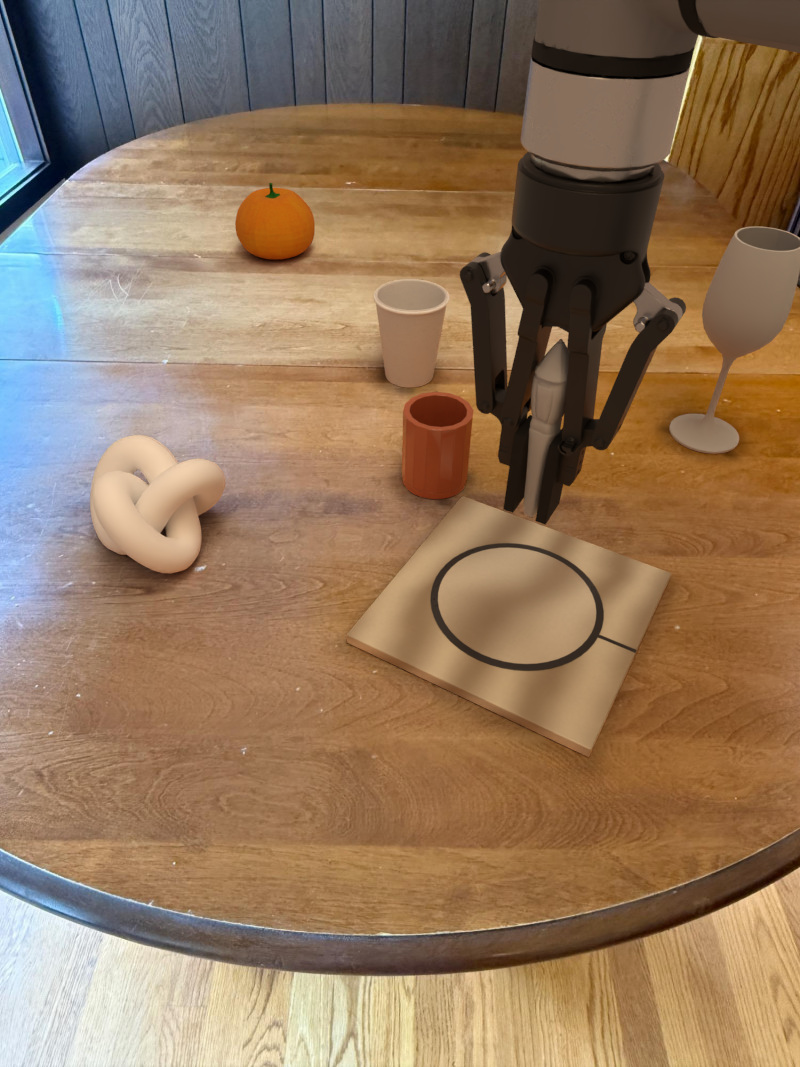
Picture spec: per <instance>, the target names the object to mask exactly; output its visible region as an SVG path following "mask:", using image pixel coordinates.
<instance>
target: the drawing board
mask: <svg viewBox="0 0 800 1067" xmlns="http://www.w3.org/2000/svg"><path fill="white" fill-rule="evenodd" d="M671 577H672V572H671V571H667V570H664V569H662V568H659V567H656V566H653V565H651V564H648V563H645V562H643V561H640V560H637V559H634V558H632V557H629V556H626V555H623V554H621V553H617V552H615V551H613V550H611V549H607V548H605V547H602V546H600V545H597V544H594V543H591V542H588V541H586V540H583V539H580V538H579V537H575V536H572V535H570V534H567V533H564V532H561V531H559V530H556V529H553V528H550V527H549V526H545V525H544V524H541V523H538V522H534V521H531V520H529V519H526V518H524V517H520V516H518V515H515V514H513V513H511V512H508V511H506V510H502V509H499V508H496V507H494V506H491V505H488V504H485V503H483V502H480V501H477V500H475V499H472V498H469V497H467V496H464V495H461V497H460V498H459V499H458V500H457V501H456V503H454V505H453V506H452V507H451V508H450V509H449V511H448V512H447V513H446V515H445V516H444V517H443V518H441V521H439V523H438V524H437V525H436V526H435V528H434V529H433V530H432V531H431V533H430V534H429V535H428V536H427V538H426V539H424V541H423V542H422V543H421V545H420V546H419V547H418V548H417V549H416V550H415V552H413V554H412V555H411V556H410V557H409V559H408V560H406V563H405V564H404V565H403V566H402V567H401V568H400V569H399V571H398V572H397V573H396V574H395V576H394V577H393V578H391V581H390V582H389V583H388V584H387V585H386V586H385V588H384V589H383V590H382V591H381V592H380V593H379V595H378V596H377V597H376V598H375V600H374V601H373V602H372V603H371V604H370V606H369V607H368V608H367V609H366V610H365V612H364V613H363V614H362V616H360V618H359V619H358V620H357V621H356V623H355V624H354V625H353V626H352V627H351V628H350V630H349V631H348V632H347V633H346V644H348V645H350V646H353V647H356V648H357V649H359V650H361V651H364V652H366V653H368V654H370V655H373V656H374V657H377V658H378V659H381V660H383V661H385V662H387V663H389V664H392V665H393V666H395V667H397V668H399V669H401V670H403V671H406V672H408V673H410V674H412V675H415V676H417V677H419V678H421V679H423V680H425V681H427V682H429V683H431V684H433V685H435V686H437V687H439V688H442V689H444V690H446V691H448V692H450V693H451V694H452V693H453V694H454V695H456V696H458V697H461V698H463V699H464V700H467V701H469V702H471V703H473V704H476V705H478V706H479V707H482V708H484V709H486V710H488V711H490V712H492V713H494V714H496V715H499V716H500V717H502V718H505V719H507V720H508V721H511V722H513V723H515V724H518V725H520V726H522V727H523V728H526V729H528V730H530V731H532V732H534V733H536V734H539V735H541V736H542V737H545V738H547V739H549V740H551V741H553V742H555V743H558V744H559V745H562V746H563V747H566V748H568V749H570V750H572V751H574V752H577V753H579V754H580V755H583V756H584V757H587V758H589V757H590V756H591V754H592V752H593V750H594V748H595V745H596V743H597V741H598V739H599V737H600V734H601V732H602V730H603V727H604V726H605V723H606V721H607V719H608V716H609V714H610V713H611V710H612V708H613V705H614V704H615V702H616V699H617V698H618V695H619V692H620V690H621V688H622V686H623V684H624V681H625V679H626V677H627V675H628V672H629V670H630V668H631V666H632V664H633V662H634V659H635V657H636V655H637V653H638V650H639V649H640V646H641V644H642V642H643V640H644V637H645V635H646V633H647V631H648V628H649V626H650V624H651V623H652V620H653V618H654V615H655V613H656V611H657V609H658V607H659V605H660V603H661V601H662V597H663V595H664V593H665V591H666V588H667V586H668V584H669V582H670V580H671Z"/></svg>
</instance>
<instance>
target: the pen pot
mask: <svg viewBox="0 0 800 1067" xmlns="http://www.w3.org/2000/svg"><path fill="white" fill-rule="evenodd" d="M473 421H474V408H473V407H472V405H471V403H470V402H469V401H467V400H466V399H465V398H463V397H461V396H459V395H457V394H453V393H450V392H443V391H430V392H423V393H419V394H417V395H414V396H412V397H411V398H409V400H407V401H406V402H405V403H404V405H403V410H402V436H401V437H402V440H401V442H402V443H401V444H402V445H401V449H402V450H401V480H402V484H403V486H404V487H405V489H407V491H409V492H410V493H411V494H413V495H415V496H417V497H420V498H423V499H426V500H427V499H428V500H445V499H449V498H452V497H454V496H457V495H459V494H460V493H461V492H462V491H463V490H464V489H465V487H466V485H467V484H468V483H467V482H468V472H469V463H470V462H469V461H470V453H471V443H472V442H471V440H472V431H473Z"/></svg>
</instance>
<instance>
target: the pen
mask: <svg viewBox="0 0 800 1067" xmlns="http://www.w3.org/2000/svg"><path fill="white" fill-rule="evenodd" d="M568 364H569V351H568V350H567V345H566V342H564V340H563V339H562V338H560V339H559V340H558V341H556V343H555V344H554V345H553V346H551V348H550V349H549V350H548V351H547V353H545V356H544V358H543V359H542V360H541V362H540V363H539V364H538V365H537V366H536V367H535V374H534V377H533V382H532V390H531V410H530V412H531V415H532V420H531V423H530V428H529V440H528V457H527V472H526V484H525V493H524V498H523V502H522V503H523V504H522V505H523V514H524V515H525V516H527V517H529V518H534V516H536V515H537V510H538V504H539V499H540V493H541V488H542V482H543V477H544V471H545V466H546V460H547V455H548V449H549V445H550V444H551V442H552V441H553V440H554V438H555V437H556V436H557V434H558V433H560V430H561V429H562V428H561V427H562V423H563V422H562V421H563V418H564V410H565V398H566V387H567V376H568Z"/></svg>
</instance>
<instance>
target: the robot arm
mask: <svg viewBox="0 0 800 1067" xmlns="http://www.w3.org/2000/svg"><path fill="white" fill-rule="evenodd" d="M699 36H700V37H706V38H710V39H719V38H720V39H725V40H729V41H736V42H740V43H746V44H751V45H755V46H761V47H766V48H770V49H771V48H772V49H777V50H782V51H786V52H793V53H797V54H800V0H538V4H537V17H536V26H535V34H533V35H532V38H533V40H532V46H531V53H530V54H531V55H530V59H529V68H528V74H527V83H526V92H525V93H526V94H525V101H524V107H523V114H522V115H523V117H522V122H521V133H520V144H521V146H522V147H523V149H524V150H525V151H526V153H525V154H524V155H523V156H522V157H521V158H520V159H519V161H517V162H518V163H517V169H516V177H515V187H514V195H513V203H512V205H513V206H512V212H511V230H510V234H509V236H508V237H507V240H506V241H505V242H504V243H503V245H502V247H501V250H500V251H498V252H495V253H493V254H490V253H489V252H484V251H483V252H481V253H479V254H478V255H477V256H476V257H474V258H473V259H472V260H471V261H469V262H468V263H467V264H465V265H464V266H463V267H461V270H460V271H459V278H460V281H461V284H462V286H463V289H464V292H465V295H466V297H467V299H468V302H469V305H470V320H471V321H470V322H471V323H470V324H471V338H472V354H473V371H474V390H475V391H474V392H475V406H476V409H477V410H478V412H480V413H481V414H484V415H489V414H491V415H492V416H494V417H495V418H496V419H497V420H499V423H500V425H501V426H500V427H501V429H500V436H499V437H500V438H499V443H498V444H499V445H498V451H497V458H498V461H499V464H502V465H505V466H508V474H507V480H506V488H505V493H504V494H505V495H504V502H503V507H502V508H503V511H505V512H508V513H511V514H513V513H514V512H515V511H516V510H517V508H518V507H519V505H520V504H521V502H522V501H524V493H525V484H526V472H527V457H528V440H529V428H530V423H531V420H532V414H529V412H531V390H532V382H533V377H534V374H535V367H536V366H537V365H538V364H539V363H540V362H541V360H542V359H543V358H544V356H545V355H546V352H547V348H548V344H549V340H550V336H551V334H552V329H553V328H559V329H561V330H563V331H565V332H567V334H568V335H567V345H566V346H567V350H568V351H569V364H568V376H567V387H566V398H565V410H564V415H563V420H562V421H563V422H562V428H561V430H560V433H558V434H557V436H556V437H555V438H554V440H553V441H552V442H551V444H550V445H549V449H548V455H547V460H546V466H545V471H544V477H543V482H542V488H541V493H540V499H539V504H538V510H537V513H536V514H535V522H536V523H538V524H541V525H544V526H545V525H546V524H547V523H548V522H549V520H550V519H551V517H552V515H553V514H554V512H555V511H556V510H557V508H558V506H559V505H560V503H561V498H562V497H561V496H562V493H563V488H564V485H565V486H567V487H571V486H572V484H573V483H574V482H575V480H576V479H577V478H578V476H579V475H580V473H581V472H582V468H583V467H582V466H583V463H584V459H585V455H586V450H587V447H592V448H594V449H595V450H598V451H605V450H607V449H608V448H609V447H610V445H611V444H612V442H613V440H614V439H615V438H616V436H617V434H618V432H619V431H620V430H621V428H622V426H623V424H624V422H625V419H626V417H627V415H628V412H629V411H630V408H631V406H632V404H633V401H634V400H635V397H636V395H637V393H638V390H639V389H640V387H641V384H642V381H643V379H644V377H645V375H646V373H647V370H648V368H649V367H650V364H651V362H652V359H653V357H654V355H655V352H656V351H657V349H658V347H659V345H660V344H661V343H662V342H663V341H664V340H666V339H667V337H669V335H671V334H672V333H673V331H674V330H675V329H676V328H677V327H676V326H678V324H679V322H680V320H681V319H682V317H683V316H684V314H685V313H686V311H687V306H686V302H685V301H684V300H683V299H681V298H680V297H671V298H667V296H666V295H664V294H663V293H662V292H661V291H659V290H658V288H656V287H655V286H654V285H653V284H652V283H651V282H650V281H651V276H652V275H651V274H652V273H651V268H650V265H649V261H648V248H649V243H650V240H651V236H652V230H653V226H654V223H655V219H656V214H657V209H658V206H659V201H660V197H661V194H662V188H663V184H664V180H665V173H664V171H663V170H662V166H661V165H660V163H662V161H664V160H665V159H666V158H667V157H668V156H669V155H670V154H671V151H672V146H673V143H674V137H675V133H676V130H677V125H678V122H679V121H678V120H679V116H680V111H681V108H682V104H683V98H684V95H685V91H686V86H687V82H688V78H689V74H690V69H691V65H692V61H693V57H694V53H695V52H694V51H695V48H696V44H697V41H698V38H699ZM507 280H508V281H509V283H510V285H511V288H512V289H513V292H514V293H515V295H516V297H517V300H518V301H519V303H520V304H519V305H520V306H521V308H522V311H521V316H520V320H519V324H518V329H517V336H518V338H517V339H518V340H517V344H516V349H515V352H514V356H513V357H514V358H513V361H512V366H511V370H510V375H509V379H508V361H507V360H508V359H507V358H508V355H507V353H508V352H507V322H506V318H507V317H506V296H505V295H506V294H505V289H504V287H505V286H506V284H507ZM632 303H633V304H634V305H635V307H636V313H635V316H634V317H633V319H632V320H633V321H632V324H633V327H634V330H635V331H636V332H637V333H638V334H637V336H636V337H635V338H634V339H633V341H632V343H631V344H630V346H629V348H628V350H627V352H626V354H625V357H624V359H623V361H622V364H621V367H620V368H619V370H618V374H617V376H616V378H615V381H614V383H613V385H612V388H611V390H610V392H609V394H608V397H607V399H606V402H605V404H604V406H603V408H602V411H601V413H600V416H599V417H598V418H594V417H595V408H596V399H597V392H598V391H597V390H598V382H599V375H600V374H599V373H600V364H601V358H602V357H601V356H602V349H603V342H604V340H603V339H604V337H605V334H606V331H607V325H608V323H609V322H610V321H612V320H613V319H614V318H615V317H617V316H618V315H619V314H620V313H621V312H623V311H624V310H625V309H627V307H629V306H630V305H631V304H632ZM528 414H529V415H528Z"/></svg>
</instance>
